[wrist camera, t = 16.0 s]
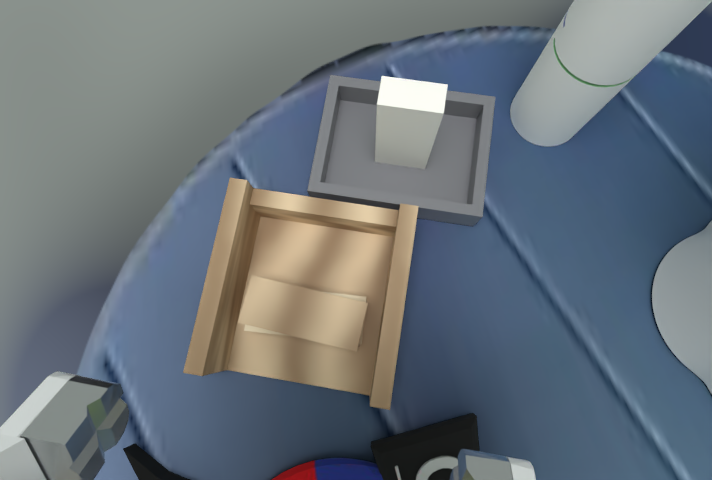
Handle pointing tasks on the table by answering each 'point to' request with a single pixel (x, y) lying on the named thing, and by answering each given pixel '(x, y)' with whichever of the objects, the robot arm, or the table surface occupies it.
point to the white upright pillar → (407, 120)
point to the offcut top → (303, 313)
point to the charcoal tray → (400, 183)
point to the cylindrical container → (593, 62)
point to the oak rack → (308, 270)
